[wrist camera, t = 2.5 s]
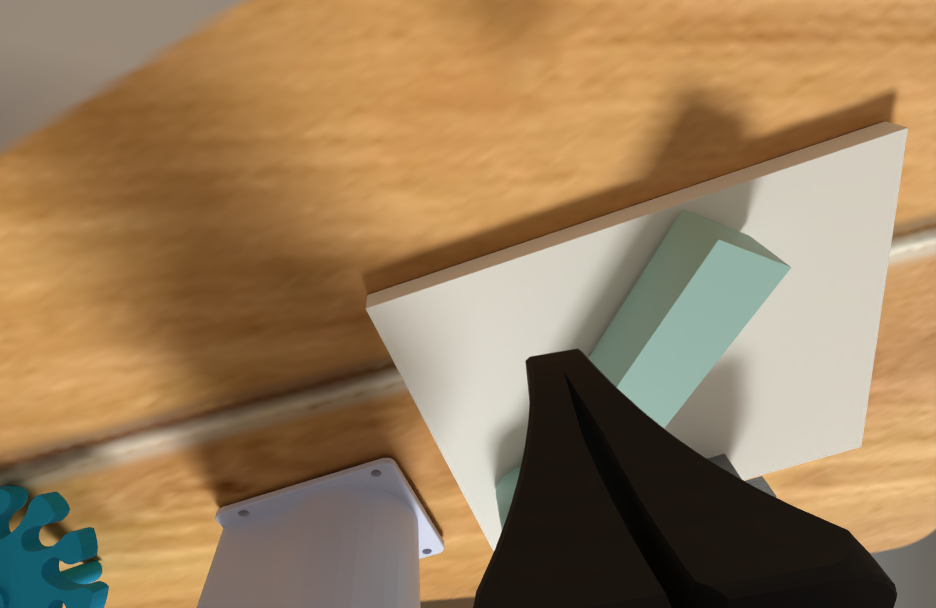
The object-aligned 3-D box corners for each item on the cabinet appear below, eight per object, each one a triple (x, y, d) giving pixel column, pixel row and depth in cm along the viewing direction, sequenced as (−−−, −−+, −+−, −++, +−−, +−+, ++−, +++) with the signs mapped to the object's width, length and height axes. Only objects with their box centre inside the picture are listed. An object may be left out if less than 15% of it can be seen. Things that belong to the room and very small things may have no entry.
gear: (86, 480, 22) (70, 752, 20) (182, 465, 28) (177, 675, 26) (-132, 499, 23) (-168, 754, 21) (2, 480, 29) (-16, 681, 27)
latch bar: (553, 520, 27) (572, 591, 24) (483, 508, 26) (493, 580, 23) (759, 239, 19) (827, 290, 16) (671, 204, 18) (725, 251, 15)
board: (490, 534, 29) (493, 550, 29) (367, 295, 20) (365, 308, 20) (847, 432, 28) (861, 446, 27) (885, 121, 19) (908, 127, 18)
